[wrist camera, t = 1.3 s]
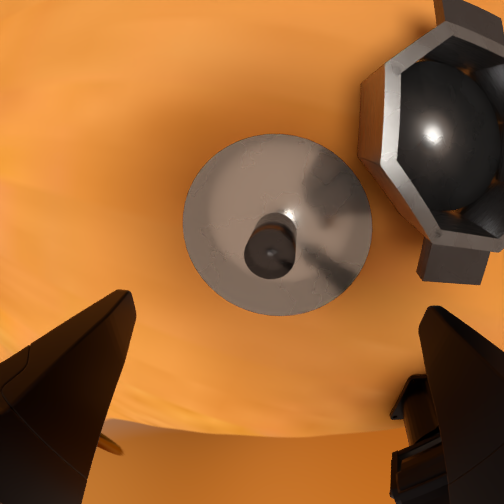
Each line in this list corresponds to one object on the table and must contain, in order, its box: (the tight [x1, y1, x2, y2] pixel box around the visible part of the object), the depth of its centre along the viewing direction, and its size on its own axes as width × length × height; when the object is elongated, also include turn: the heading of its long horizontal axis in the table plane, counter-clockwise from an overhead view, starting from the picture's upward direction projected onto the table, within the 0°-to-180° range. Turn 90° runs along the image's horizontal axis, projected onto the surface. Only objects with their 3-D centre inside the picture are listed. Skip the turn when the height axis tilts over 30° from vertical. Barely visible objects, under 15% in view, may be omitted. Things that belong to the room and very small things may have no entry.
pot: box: [357, 0, 504, 285], centre depth 14 cm, size 17×12×6 cm
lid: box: [183, 134, 372, 316], centre depth 19 cm, size 13×13×5 cm
